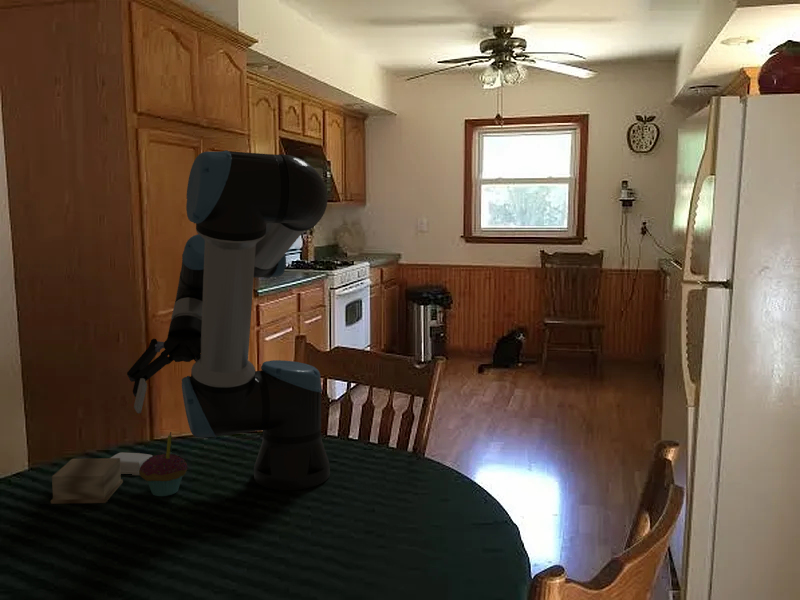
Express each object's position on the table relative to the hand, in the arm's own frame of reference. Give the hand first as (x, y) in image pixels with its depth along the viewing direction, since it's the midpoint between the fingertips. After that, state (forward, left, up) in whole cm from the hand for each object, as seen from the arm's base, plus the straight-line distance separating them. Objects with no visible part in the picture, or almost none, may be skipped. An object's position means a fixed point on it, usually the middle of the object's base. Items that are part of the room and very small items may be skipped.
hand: (172, 410), depth 136 cm
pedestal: (+14, +9, -13) cm, 21 cm away
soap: (+10, -4, -14) cm, 17 cm away
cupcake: (0, +9, -14) cm, 16 cm away
